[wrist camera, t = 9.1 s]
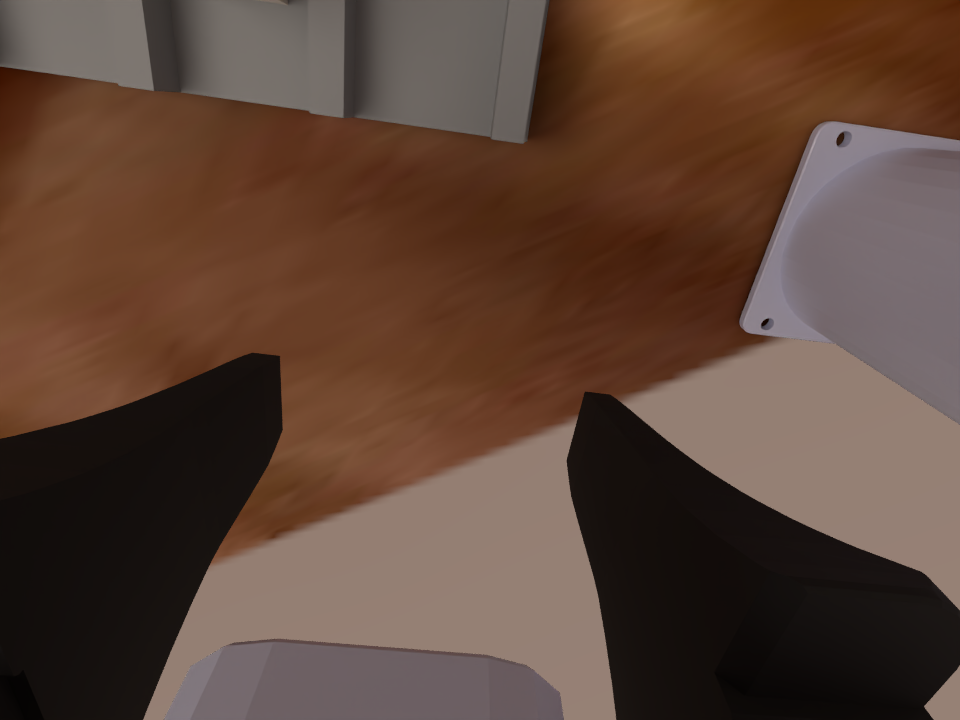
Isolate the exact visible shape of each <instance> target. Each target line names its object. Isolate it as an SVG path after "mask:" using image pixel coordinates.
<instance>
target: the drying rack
mask: <svg viewBox="0 0 960 720" xmlns="http://www.w3.org/2000/svg"><path fill="white" fill-rule="evenodd" d="M548 6H549V0H288V5H283V4H277V3H271V2H264V1H258V0H0V66H2V67H9V68H16V69H23V70H30V71H37V72H44V73H51V74H58V75H64V76H71V77H78V78H85V79H92V80H99V81H106V82H113V83H118V86H124V87H131V88H138V89H145V90H152V91H167V92H183V93H190V94H197V95H203V96H210V97H217V98H224V99H231V100H238V101H245V102H252V103H259V104H266V105H273V106H280V107H287V108H294V109H301V110H308V111H310V113H312V114H319V115H326V116H333V117H340V118H349V117H356V118H363V119H370V120H377V121H384V122H391V123H398V124H405V125H412V126H419V127H426V128H433V129H440V130H447V131H454V132H461V133H468V134H474V135H481V136H488V137H490V138H491V139H493V140H500V141H507V142H514V143H521V144H524V142H527V138H528V132H529V126H530V119H531V113H532V107H533V100H534V94H535V88H536V82H537V75H538V69H539V63H540V57H541V50H542V44H543V38H544V31H545V25H546V19H547V13H548Z"/></svg>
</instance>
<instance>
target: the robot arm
mask: <svg viewBox="0 0 960 720" xmlns="http://www.w3.org/2000/svg"><path fill="white" fill-rule="evenodd" d="M842 132H843V133H844V135H845V136H844V140H843V142H842V143H841V144H840V145H839V146H837V144H836V140H837V137H838V136H839V134H840V133H842ZM768 318H769V322H768V323H767V324H766V325H765V326H761V323H762V322H763V320H765V319H768ZM739 323H740V327H741V328H742V329H743V330H745V331H746V332H748V333H751V334H758V335H767V336H775V337H783V338H792V339H800V340H809V341H816V342H825V343H833V344H837V345H838V346H840V347H841V348H843V349H844V350H846V351H847V352H849V353H851V354H852V355H854V356H855V357H857V358H858V359H860V360H861V361H863V362H864V363H866V364H867V365H869V366H871V367H872V368H874V369H875V370H877V371H878V372H880V373H881V374H883V375H884V376H886V377H887V378H889V379H891V380H892V381H894V382H895V383H897V384H898V385H900V386H901V387H903V388H904V389H906V390H907V391H909V392H911V393H912V394H914V395H915V396H917V397H918V398H920V399H921V400H923V401H924V402H926V403H927V404H929V405H930V406H932V407H934V408H935V409H937V410H938V411H940V412H941V413H943V414H944V415H946V416H947V417H949V418H950V419H952V420H954V421H955V422H957V423H958V424H960V140H953V139H947V138H940V137H934V136H927V135H921V134H914V133H908V132H901V131H895V130H888V129H882V128H875V127H869V126H862V125H856V124H849V123H843V122H836V121H827V122H823V123H821V124H819V125H818V126H817V127H816V128H815V129H814V130H813V132H812V134H811V136H810V138H809V141H808V143H807V146H806V149H805V151H804V154H803V156H802V159H801V162H800V164H799V167H798V169H797V172H796V175H795V177H794V180H793V182H792V185H791V188H790V190H789V193H788V195H787V198H786V200H785V203H784V206H783V208H782V211H781V213H780V216H779V219H778V221H777V224H776V226H775V229H774V232H773V234H772V237H771V239H770V242H769V245H768V247H767V250H766V252H765V255H764V257H763V260H762V263H761V265H760V268H759V270H758V273H757V276H756V278H755V281H754V283H753V286H752V289H751V291H750V294H749V296H748V299H747V302H746V304H745V307H744V309H743V312H742V315H741V317H740V321H739ZM282 430H283V427H282V402H281V377H280V356H276V355H267V354H259V353H251V354H247V355H244V356H242V357H239V358H237V359H234V360H232V361H230V362H227V363H225V364H223V365H221V366H218V367H216V368H214V369H212V370H209V371H207V372H205V373H203V374H200V375H198V376H196V377H194V378H191V379H189V380H187V381H185V382H182V383H180V384H178V385H175V386H172V387H170V388H167V389H165V390H162V391H160V392H157V393H155V394H152V395H150V396H147V397H145V398H142V399H140V400H137V401H135V402H132V403H129V404H126V405H124V406H121V407H118V408H115V409H112V410H109V411H105V412H102V413H99V414H96V415H93V416H89V417H86V418H83V419H79V420H76V421H72V422H69V423H65V424H61V425H56V426H52V427H48V428H44V429H40V430H36V431H32V432H28V433H24V434H20V435H16V436H12V437H7V438H2V439H0V720H143V719H144V716H145V713H146V711H147V708H148V706H149V703H150V701H151V698H152V696H153V694H154V691H155V689H156V686H157V684H158V681H159V679H160V676H161V674H162V671H163V669H164V667H165V664H166V662H167V659H168V657H169V654H170V652H171V650H172V647H173V645H174V643H175V640H176V638H177V636H178V633H179V631H180V629H181V627H182V624H183V622H184V620H185V617H186V615H187V613H188V611H189V608H190V606H191V604H192V602H193V599H194V597H195V595H196V593H197V591H198V589H199V587H200V584H201V582H202V580H203V578H204V576H205V574H206V571H207V569H208V567H209V565H210V563H211V561H212V559H213V557H214V556H215V554H216V552H217V550H218V548H219V546H220V545H221V543H222V541H223V539H224V538H225V536H226V535H227V533H228V531H229V530H230V528H231V526H232V525H233V523H234V521H235V520H236V518H237V516H238V515H239V513H240V511H241V510H242V508H243V506H244V505H245V503H246V502H247V500H248V498H249V497H250V495H251V493H252V492H253V490H254V488H255V487H256V485H257V483H258V481H259V480H260V478H261V476H262V475H263V473H264V471H265V470H266V468H267V466H268V464H269V462H270V459H271V457H272V455H273V453H274V450H275V448H276V445H277V443H278V440H279V438H280V435H281V433H282ZM567 467H568V476H569V484H570V491H571V497H572V501H573V505H574V508H575V512H576V516H577V519H578V523H579V526H580V530H581V533H582V537H583V541H584V544H585V547H586V551H587V555H588V558H589V562H590V565H591V569H592V572H593V576H594V580H595V584H596V588H597V592H598V597H599V603H600V609H601V614H602V620H603V627H604V632H605V639H606V645H607V652H608V659H609V666H610V673H611V679H612V687H613V695H614V703H615V711H616V720H933V718H932V717H931V716H930V714H929V713H928V712H927V711H926V709H925V708H924V705H926V703H927V702H928V701H929V700H930V699H931V698H932V697H933V695H934V694H935V693H936V692H937V691H938V690H939V689H940V688H941V687H942V685H943V684H944V683H945V682H946V681H947V680H948V679H949V678H950V676H951V675H952V674H953V673H954V672H955V671H956V670H957V668H958V667H959V665H960V610H959V609H958V608H957V607H956V606H955V605H954V604H953V603H952V602H951V601H950V600H949V599H948V598H947V597H946V595H944V593H943V592H941V590H940V589H939V588H938V587H937V586H936V585H935V584H934V583H933V582H932V581H931V580H930V579H929V578H928V577H927V576H926V575H925V574H923V573H922V572H920V571H918V570H915V569H912V568H909V567H907V566H904V565H902V564H899V563H896V562H894V561H891V560H888V559H886V558H883V557H880V556H878V555H875V554H872V553H870V552H867V551H864V550H861V549H859V548H856V547H854V546H851V545H849V544H846V543H844V542H842V541H840V540H837V539H835V538H833V537H830V536H828V535H826V534H824V533H821V532H819V531H817V530H815V529H812V528H810V527H808V526H806V525H803V524H802V523H799V522H798V521H795V520H793V519H791V518H789V517H787V516H785V515H783V514H781V513H780V512H778V511H776V510H774V509H772V508H770V507H768V506H766V505H764V504H763V503H761V502H758V501H757V500H755V499H753V498H751V497H750V496H748V495H746V494H745V493H743V492H741V491H739V490H738V489H736V488H735V487H733V486H731V485H730V484H728V483H727V482H725V481H723V480H722V479H720V478H719V477H717V476H715V475H714V474H712V473H711V472H709V471H708V470H706V469H705V468H703V467H702V466H700V465H699V464H698V463H696V462H695V461H694V460H692V459H691V458H689V457H688V456H687V455H685V454H684V453H683V452H681V451H680V450H679V449H677V448H676V447H675V446H674V445H672V444H671V443H670V442H668V441H667V440H666V439H665V438H663V437H662V436H661V435H660V434H658V433H657V432H656V431H655V430H654V429H652V428H651V427H650V426H649V425H648V424H646V423H645V422H644V421H643V420H642V419H640V418H639V417H638V416H637V415H636V414H634V413H633V412H632V411H631V410H630V409H628V408H627V407H626V406H625V405H623V404H622V403H621V402H620V401H618V400H617V399H616V398H614V397H613V396H611V395H609V394H601V393H592V392H585V393H584V397H583V401H582V405H581V408H580V412H579V416H578V420H577V423H576V427H575V431H574V435H573V439H572V442H571V446H570V450H569V454H568V457H567ZM164 720H564V718H563V712H562V704H561V697H560V693H559V692H558V691H557V690H556V689H555V688H554V687H552V686H551V685H550V684H549V683H548V682H547V681H546V680H544V679H543V678H542V677H541V676H540V675H539V674H537V673H536V672H535V671H534V670H533V669H531V668H530V667H528V666H527V665H523V664H519V663H516V662H512V661H508V660H504V659H500V658H496V657H493V656H488V655H481V654H468V653H454V652H441V651H429V650H415V649H403V648H390V647H378V646H364V645H350V644H339V643H325V642H313V641H299V640H287V639H270V640H259V641H248V642H237V643H232V644H229V645H226V646H224V647H222V648H220V649H219V650H217V651H215V652H214V653H212V654H210V655H209V656H207V657H205V658H204V659H202V660H200V661H199V662H197V663H195V664H193V665H192V666H191V667H190V669H189V671H188V673H187V675H186V677H185V679H184V681H183V683H182V685H181V687H180V689H179V690H178V693H177V694H176V696H175V698H174V700H173V702H172V704H171V706H170V708H169V710H168V712H167V714H166V716H165V718H164Z"/></svg>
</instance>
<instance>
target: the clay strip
mask: <svg viewBox="0 0 960 720" xmlns="http://www.w3.org/2000/svg"><path fill="white" fill-rule="evenodd" d="M258 1H264V2H271V3H277V4H283V5H288V0H258Z"/></svg>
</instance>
